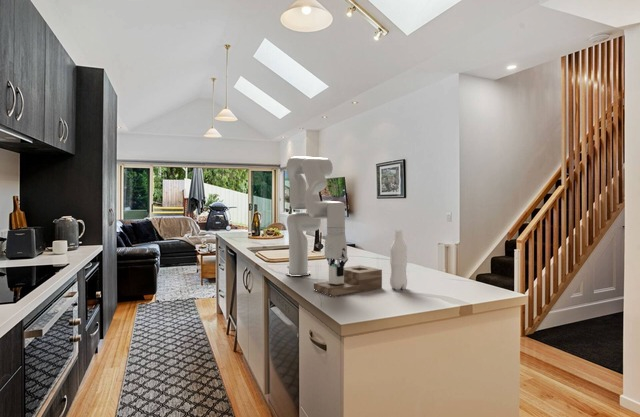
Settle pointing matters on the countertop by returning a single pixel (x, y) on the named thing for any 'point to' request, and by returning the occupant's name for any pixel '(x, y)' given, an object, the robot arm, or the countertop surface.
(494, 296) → the countertop surface
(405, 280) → the water bottle
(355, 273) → the wooden stepped block
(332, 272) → the plug
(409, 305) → the countertop surface
